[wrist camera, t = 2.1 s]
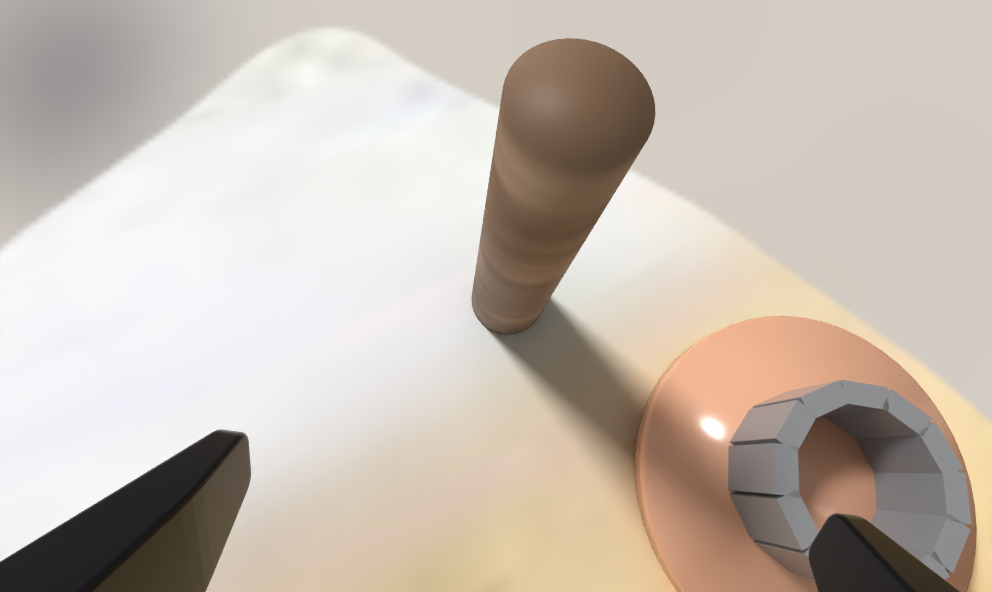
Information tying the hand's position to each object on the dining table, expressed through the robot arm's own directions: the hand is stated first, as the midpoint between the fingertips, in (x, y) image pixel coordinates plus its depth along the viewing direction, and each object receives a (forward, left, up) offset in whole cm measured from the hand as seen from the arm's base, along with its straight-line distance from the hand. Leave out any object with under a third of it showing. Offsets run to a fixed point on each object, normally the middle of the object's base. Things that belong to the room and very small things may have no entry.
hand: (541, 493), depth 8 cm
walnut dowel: (+6, -4, -13) cm, 15 cm away
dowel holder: (-5, -12, -13) cm, 18 cm away
